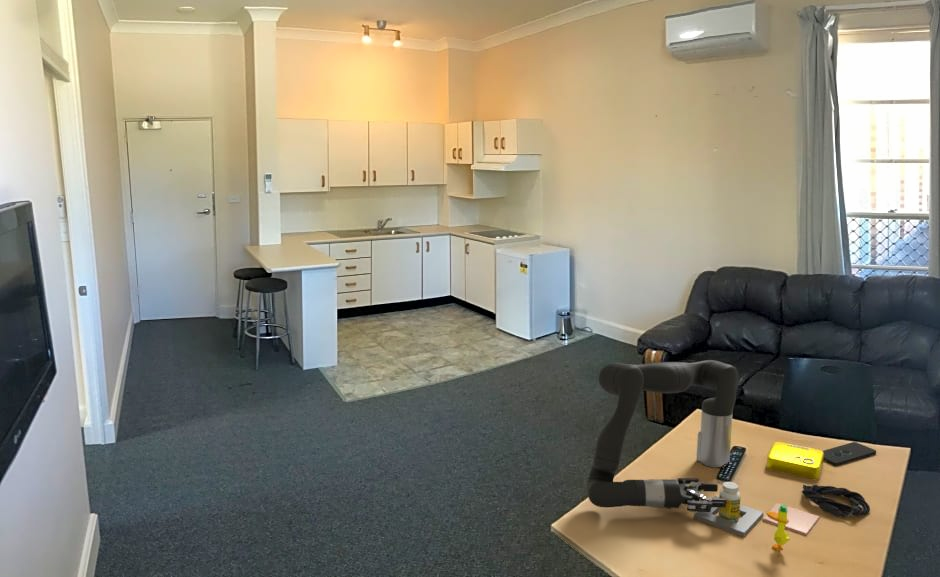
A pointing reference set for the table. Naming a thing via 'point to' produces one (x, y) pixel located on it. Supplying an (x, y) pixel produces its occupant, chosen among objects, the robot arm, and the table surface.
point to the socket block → (739, 528)
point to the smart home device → (847, 453)
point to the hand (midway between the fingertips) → (721, 495)
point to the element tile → (795, 460)
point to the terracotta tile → (795, 519)
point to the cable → (833, 506)
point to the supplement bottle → (730, 501)
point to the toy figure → (780, 526)
